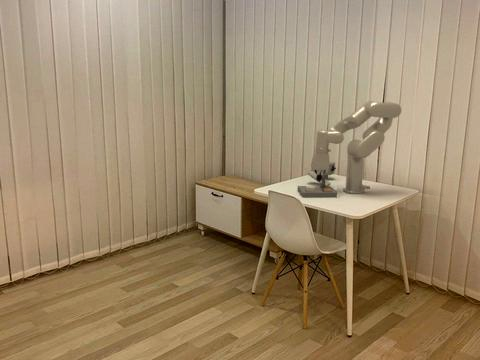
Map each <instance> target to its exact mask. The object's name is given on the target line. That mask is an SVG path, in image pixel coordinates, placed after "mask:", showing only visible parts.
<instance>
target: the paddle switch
mask: <svg viewBox="0 0 480 360" xmlns="http://www.w3.org/2000/svg"><path fill="white" fill-rule="evenodd" d="M318 186H320V187H321V188H327V186H326V185H325V177H324V176H322V183H321V184H319V185H318Z"/></svg>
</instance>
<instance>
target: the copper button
mask: <svg viewBox="0 0 480 360" xmlns="http://www.w3.org/2000/svg"><path fill="white" fill-rule="evenodd" d="M322 191H323V192H331V189H330V188H322Z"/></svg>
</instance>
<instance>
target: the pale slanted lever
mask: <svg viewBox="0 0 480 360" xmlns="http://www.w3.org/2000/svg"><path fill="white" fill-rule="evenodd" d="M307 175H308V176H309V177H310V178H312V179H313V180H315V181H316V182H317V183H319V185H321V183H322V180H321V182H318V181H317V180H316V176H317V174H316V173H315V172H313V171H311V170H310V171H309V172H308V173H307ZM331 184H332V182H330V181H328V180H327V179H325V185H326V186H331Z"/></svg>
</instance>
